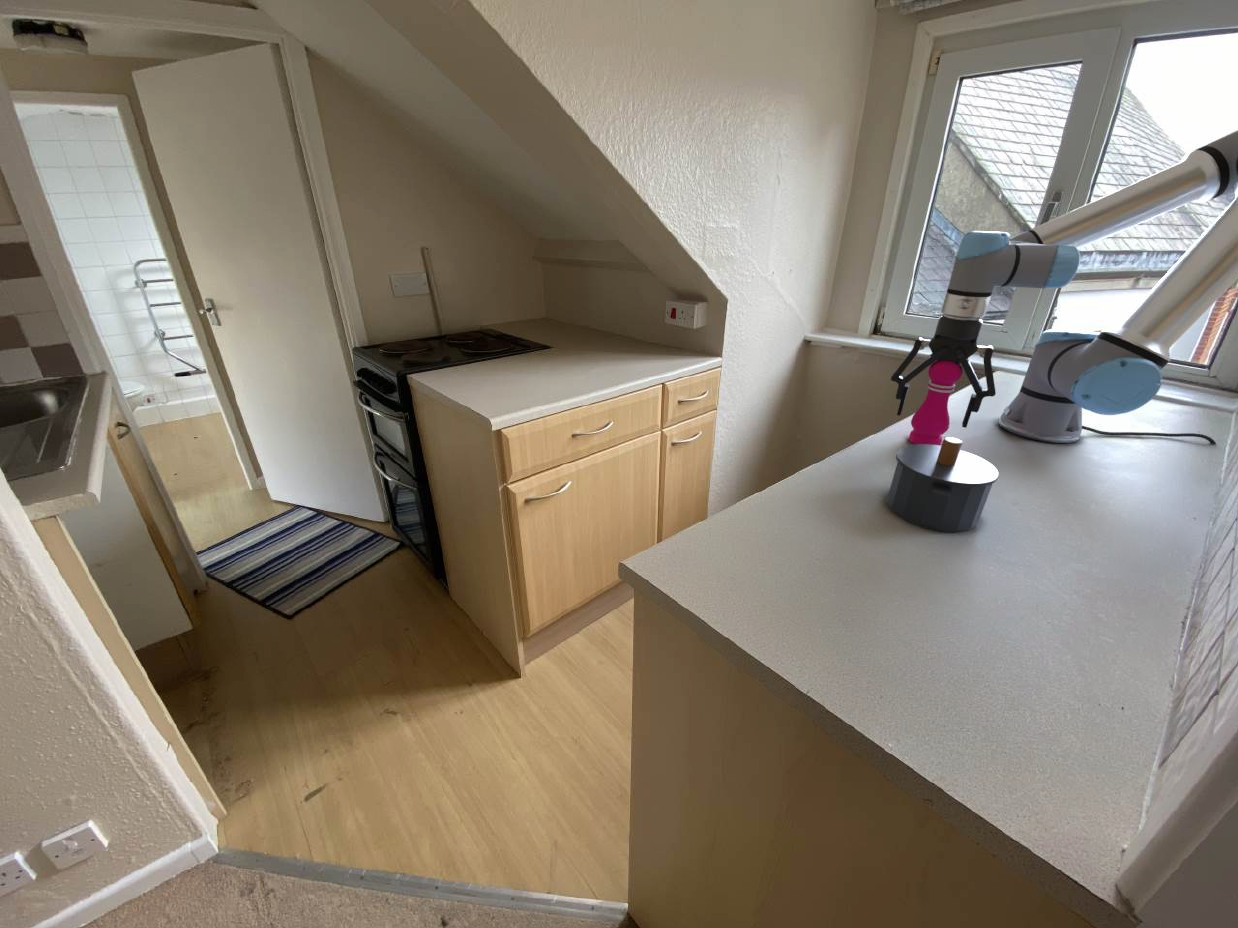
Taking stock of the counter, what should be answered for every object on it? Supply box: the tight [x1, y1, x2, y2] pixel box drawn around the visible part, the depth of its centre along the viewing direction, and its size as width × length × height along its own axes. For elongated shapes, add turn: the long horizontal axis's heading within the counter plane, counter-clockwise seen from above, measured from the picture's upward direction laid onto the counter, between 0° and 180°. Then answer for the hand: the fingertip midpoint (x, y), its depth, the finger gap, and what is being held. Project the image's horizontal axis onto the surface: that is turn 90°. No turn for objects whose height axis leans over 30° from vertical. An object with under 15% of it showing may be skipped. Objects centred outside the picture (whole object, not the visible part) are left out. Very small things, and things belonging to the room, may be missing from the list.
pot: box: [886, 461, 993, 533], centre depth 88 cm, size 14×19×8 cm
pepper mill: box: [908, 360, 963, 446], centre depth 112 cm, size 7×7×20 cm
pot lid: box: [895, 436, 1000, 487], centre depth 85 cm, size 15×15×5 cm
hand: (930, 419), depth 114 cm, fingers open, 12 cm apart
